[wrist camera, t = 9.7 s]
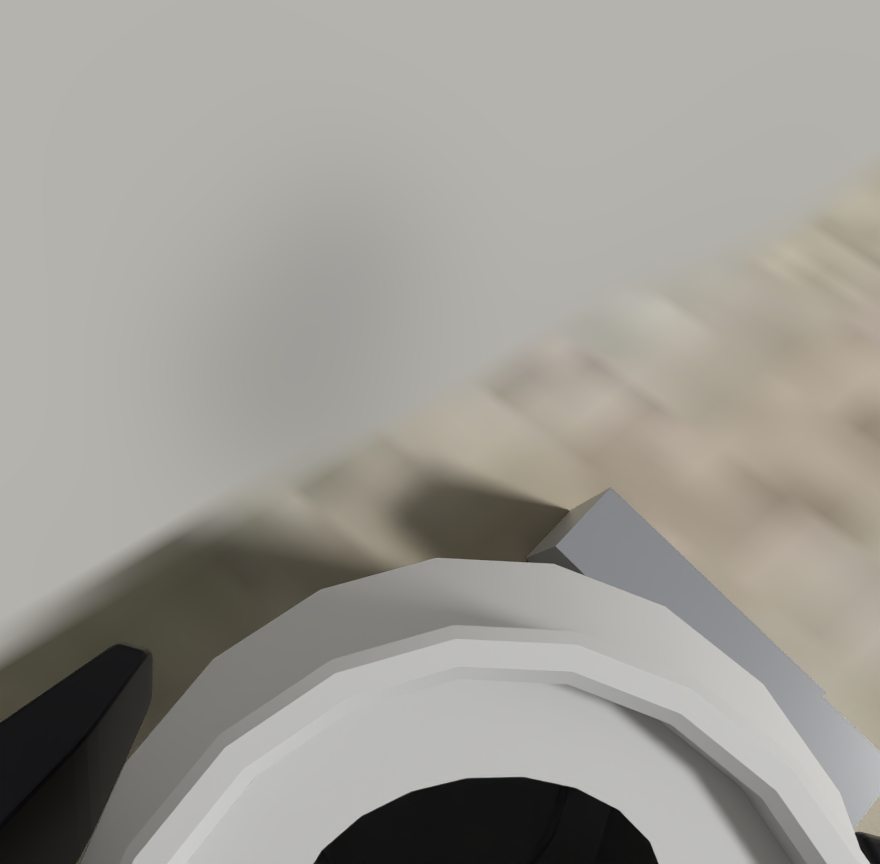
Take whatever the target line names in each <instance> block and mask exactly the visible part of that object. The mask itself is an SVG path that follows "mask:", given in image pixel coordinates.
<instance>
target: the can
mask: <svg viewBox="0 0 880 864" xmlns="http://www.w3.org/2000/svg"><path fill="white" fill-rule="evenodd" d="M80 864H870V863H869V861H868V860H867V858H866V857H865V855H864V854H863V853H862V851H861V849H860V847H859V844H858V841H857V838H856V836H855V833H854V830H853V827H852V824H851V822H850V819H849V816H848V813H847V811H846V808H845V805H844V802H843V799H842V797H841V794H840V792H839V790H838V789H837V788H836V786H835V785H834V783H833V782H832V781H831V779H830V778H829V776H828V775H827V773H826V772H825V771H824V769H823V768H822V766H821V765H820V764H819V762H818V761H817V759H816V758H815V756H814V755H813V754H812V752H811V751H810V749H809V748H808V747H807V745H806V744H805V742H804V741H803V740H802V738H801V737H800V735H799V734H798V732H797V731H796V730H795V728H794V727H793V725H792V724H791V723H790V721H789V720H788V718H787V717H786V716H785V714H784V713H783V711H782V710H781V708H780V707H779V706H778V704H777V703H776V701H775V700H774V699H773V697H772V696H771V694H770V693H769V692H768V690H767V689H766V687H765V686H764V684H762V683H761V682H760V681H759V680H757V679H756V678H755V677H754V676H752V675H751V674H750V673H749V672H747V671H746V670H745V669H744V668H742V667H741V666H740V665H738V664H737V663H736V662H735V661H733V660H732V659H731V658H730V657H728V656H727V655H726V654H725V653H723V652H722V651H721V650H720V649H718V648H717V647H716V646H714V645H713V644H712V643H711V642H709V641H708V640H707V639H706V638H704V637H703V636H702V635H701V634H699V633H698V632H697V631H696V630H694V629H693V628H692V627H690V626H689V625H688V624H687V623H685V622H684V621H683V620H682V619H680V618H679V617H678V616H677V615H675V614H674V613H673V612H672V611H670V610H669V609H668V608H666V607H665V606H662V605H660V604H657V603H655V602H652V601H649V600H647V599H644V598H642V597H639V596H636V595H634V594H631V593H629V592H626V591H623V590H621V589H618V588H616V587H613V586H610V585H608V584H605V583H603V582H600V581H597V580H595V579H592V578H590V577H587V576H584V575H582V574H579V573H577V572H574V571H571V570H569V569H566V568H564V567H561V566H558V565H556V564H548V563H528V562H509V561H489V560H470V559H450V558H434V559H430V560H426V561H423V562H419V563H415V564H412V565H408V566H404V567H401V568H397V569H393V570H390V571H386V572H382V573H379V574H375V575H371V576H368V577H364V578H360V579H357V580H353V581H350V582H346V583H342V584H339V585H335V586H331V587H328V588H324V589H320V590H319V591H317V592H316V593H314V594H312V595H311V596H309V597H308V598H306V599H305V600H303V601H302V602H300V603H299V604H297V605H295V606H294V607H292V608H291V609H289V610H288V611H286V612H285V613H283V614H282V615H280V616H279V617H277V618H275V619H274V620H272V621H271V622H269V623H268V624H266V625H265V626H263V627H262V628H260V629H259V630H257V631H255V632H254V633H252V634H251V635H249V636H248V637H246V638H245V639H243V640H242V641H240V642H238V643H237V644H235V645H234V646H232V647H231V648H229V649H228V650H226V651H225V652H223V653H222V654H220V655H218V656H217V657H215V658H214V659H213V660H212V661H211V662H210V663H209V665H208V666H207V667H206V668H205V669H204V670H203V672H202V673H201V674H200V675H199V676H198V678H197V679H196V680H195V681H194V682H193V684H192V685H191V686H190V687H189V688H188V689H187V691H186V692H185V693H184V694H183V695H182V697H181V698H180V699H179V700H178V701H177V702H176V704H175V705H174V706H173V707H172V708H171V710H170V711H169V712H168V713H167V714H166V716H165V717H164V718H163V719H162V720H161V721H160V723H159V724H158V725H157V726H156V727H155V729H154V730H153V731H152V732H151V733H150V734H149V736H148V737H147V738H146V739H145V740H144V742H143V743H142V744H141V745H140V746H139V748H138V749H137V750H136V751H135V752H134V753H133V755H132V756H131V757H130V758H129V759H128V761H127V762H126V763H125V765H124V767H123V769H122V771H121V774H120V776H119V778H118V780H117V783H116V785H115V787H114V789H113V791H112V794H111V796H110V798H109V800H108V803H107V805H106V807H105V809H104V812H103V814H102V816H101V818H100V821H99V823H98V825H97V827H96V830H95V832H94V834H93V836H92V838H91V841H90V843H89V845H88V847H87V850H86V852H85V854H84V856H83V859H82V861H81V863H80Z"/></svg>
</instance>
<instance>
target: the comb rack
mask: <svg viewBox="0 0 880 864" xmlns="http://www.w3.org/2000/svg"><path fill="white" fill-rule="evenodd" d="M526 559H527V560H528V561H529V562H530V563H548V564H556V565H558V566H561V567H564V568H566V569H569V570H571V571H574V572H577V573H579V574H582V575H584V576H587V577H590V578H592V579H595V580H597V581H600V582H603V583H605V584H608V585H610V586H613V587H616V588H618V589H621V590H623V591H626V592H629V593H631V594H634V595H636V596H639V597H642V598H644V599H647V600H649V601H652V602H655V603H657V604H660V605H662V606H665V607H666V608H668V609H669V610H670V611H672V612H673V613H674V614H675V615H677V616H678V617H679V618H680V619H682V620H683V621H684V622H685V623H687V624H688V625H689V626H690V627H692V628H693V629H694V630H696V631H697V632H698V633H699V634H701V635H702V636H703V637H704V638H706V639H707V640H708V641H709V642H711V643H712V644H713V645H714V646H716V647H717V648H718V649H720V650H721V651H722V652H723V653H725V654H726V655H727V656H728V657H730V658H731V659H732V660H733V661H735V662H736V663H737V664H738V665H740V666H741V667H742V668H744V669H745V670H746V671H747V672H749V673H750V674H751V675H752V676H754V677H755V678H756V679H757V680H759V681H760V682H761V683H762V684H764V686H765V687H766V689H767V690H768V692H769V693H770V694H771V696H772V697H773V699H774V700H775V701H776V703H777V704H778V706H779V707H780V708H781V710H782V711H783V713H784V714H785V716H786V717H787V718H788V720H789V721H790V723H791V724H792V725H793V727H794V728H795V730H796V731H797V732H798V734H799V735H800V737H801V738H802V740H803V741H804V742H805V744H806V745H807V747H808V748H809V749H810V751H811V752H812V754H813V755H814V756H815V758H816V759H817V761H818V762H819V764H820V765H821V766H822V768H823V769H824V771H825V772H826V773H827V775H828V776H829V778H830V779H831V781H832V782H833V783H834V785H835V786H836V788H837V789H838V790H839V792H840V794H841V797H842V799H843V802H844V805H845V808H846V811H847V813H848V816H849V819H850V822H851V824H852V827H853V830H854V828H855V827H856V826H857V824H858V823H859V822H860V820H861V819H862V818H863V816H864V815H865V814H866V812H867V811H868V810H869V808H870V807H871V806H872V804H873V803H874V802H875V800H876V799H877V798H878V796H879V795H880V751H879V750H878V749H877V748H876V747H875V746H874V745H873V744H872V743H871V742H870V741H869V740H867V739H866V738H865V737H864V736H863V735H862V734H861V733H860V732H859V731H858V730H857V729H856V728H855V727H854V726H853V725H852V724H851V723H850V722H849V721H848V720H847V719H846V718H844V717H843V716H842V715H841V714H840V713H839V712H838V711H837V710H836V709H835V708H834V707H833V706H832V705H831V704H830V703H829V702H828V701H827V700H826V699H825V698H824V697H823V695H824V694H825V693H826V692H825V691H824V690H823V689H822V688H821V687H820V686H819V685H817V684H816V683H815V682H814V681H813V680H812V679H811V678H810V677H809V676H808V675H807V674H806V673H805V672H804V671H803V670H802V669H801V668H800V667H799V666H798V665H797V664H795V663H794V662H793V661H792V660H791V659H790V658H789V657H788V656H787V655H786V654H785V653H784V652H783V651H782V650H781V649H780V648H779V647H778V646H777V645H776V644H775V643H773V642H772V641H771V640H770V639H769V638H768V637H767V636H766V635H765V634H764V633H763V632H762V631H761V630H760V629H759V628H758V627H757V626H756V625H755V624H754V623H753V622H751V621H750V620H749V619H748V618H747V617H746V616H745V615H744V614H743V613H742V612H741V611H740V610H739V609H738V608H737V607H736V606H735V605H734V604H733V603H732V602H731V601H729V600H728V599H727V598H726V597H725V596H724V595H723V594H722V593H721V592H720V591H719V590H718V589H717V588H716V587H715V586H714V585H713V584H712V583H711V582H710V581H709V580H707V579H706V578H705V577H704V576H703V575H702V574H701V573H700V572H699V571H698V570H697V569H696V568H695V567H694V566H693V565H692V564H691V563H690V562H689V561H688V560H687V559H685V558H684V557H683V556H682V555H681V554H680V553H679V552H678V551H677V550H676V549H675V548H674V547H673V546H672V545H671V544H670V543H669V542H668V541H667V540H666V539H665V538H663V537H662V536H661V535H660V534H659V533H658V532H657V531H656V530H655V529H654V528H653V527H652V526H651V525H650V524H649V523H648V522H647V521H646V520H645V519H644V518H643V517H641V516H640V515H639V514H638V513H637V512H636V511H635V510H634V509H633V508H632V507H631V506H630V505H629V504H628V503H627V502H626V501H625V500H624V499H623V498H622V497H621V496H620V495H618V494H617V493H616V492H615V491H614V490H613V489H612V488H609V489H607V490H605V491H604V492H602V493H600V494H598V495H596V496H595V497H593V498H591V499H589V500H588V501H586V502H584V503H582V504H581V505H579V506H577V507H575V508H574V509H572V510H570V511H569V512H568V514H567V515H566V516H565V517H564V518H563V519H562V520H561V521H560V522H559V523H558V524H557V525H556V526H555V527H554V528H553V529H552V530H551V531H550V532H549V533H548V535H547V536H546V537H545V538H544V539H543V540H542V541H541V542H540V543H539V544H538V545H537V546H536V547H535V548H534V549H533V550H532V551H531V552H530V553H529V555H528V556H527V557H526Z"/></svg>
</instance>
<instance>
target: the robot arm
mask: <svg viewBox="0 0 880 864" xmlns="http://www.w3.org/2000/svg"><path fill="white" fill-rule="evenodd" d="M151 696H152V654H151V652H150V651H149V650H148V649H146V648H142V647H138V646H134V645H130V644H126V643H118V644H115V645H113V646H111V647H110V648H108V649H107V650H105V651H104V652H103V653H101V654H100V655H98V656H97V657H95V658H94V659H92V660H91V661H90V662H88V663H87V664H85V665H84V666H82V667H81V668H79V669H78V670H76V671H75V672H74V673H72V674H71V675H69V676H68V677H66V678H65V679H63V680H62V681H60V682H59V683H58V684H56V685H55V686H53V687H52V688H50V689H49V690H47V691H46V692H44V693H43V694H42V695H40V696H39V697H37V698H36V699H34V700H33V701H31V702H30V703H28V704H27V705H26V706H24V707H23V708H21V709H20V710H18V711H17V712H15V713H14V714H12V715H11V716H10V717H8V718H7V719H5V720H4V721H2V722H1V723H0V864H76V862H77V861H78V859H79V857H80V855H81V854H82V852H83V850H84V848H85V846H86V844H87V843H88V841H89V839H90V837H91V835H92V833H93V831H94V829H95V827H96V824H97V822H98V820H99V818H100V816H101V814H102V812H103V809H104V807H105V805H106V803H107V800H108V798H109V796H110V794H111V791H112V789H113V787H114V785H115V782H116V780H117V778H118V776H119V773H120V771H121V769H122V767H123V764H124V762H125V760H126V758H127V755H128V753H129V751H130V749H131V746H132V744H133V742H134V740H135V738H136V735H137V733H138V731H139V729H140V726H141V724H142V722H143V720H144V717H145V715H146V713H147V710H148V707H149V704H150V701H151ZM855 836H856V838H857V841H858V844H859V847H860V849H861V851H862V853H863V854H864V855H865V857H866V858H867V860H868V861H869V863H870V864H880V837H879V836H875V835H871V834H867V833H863V832H856V833H855Z"/></svg>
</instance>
